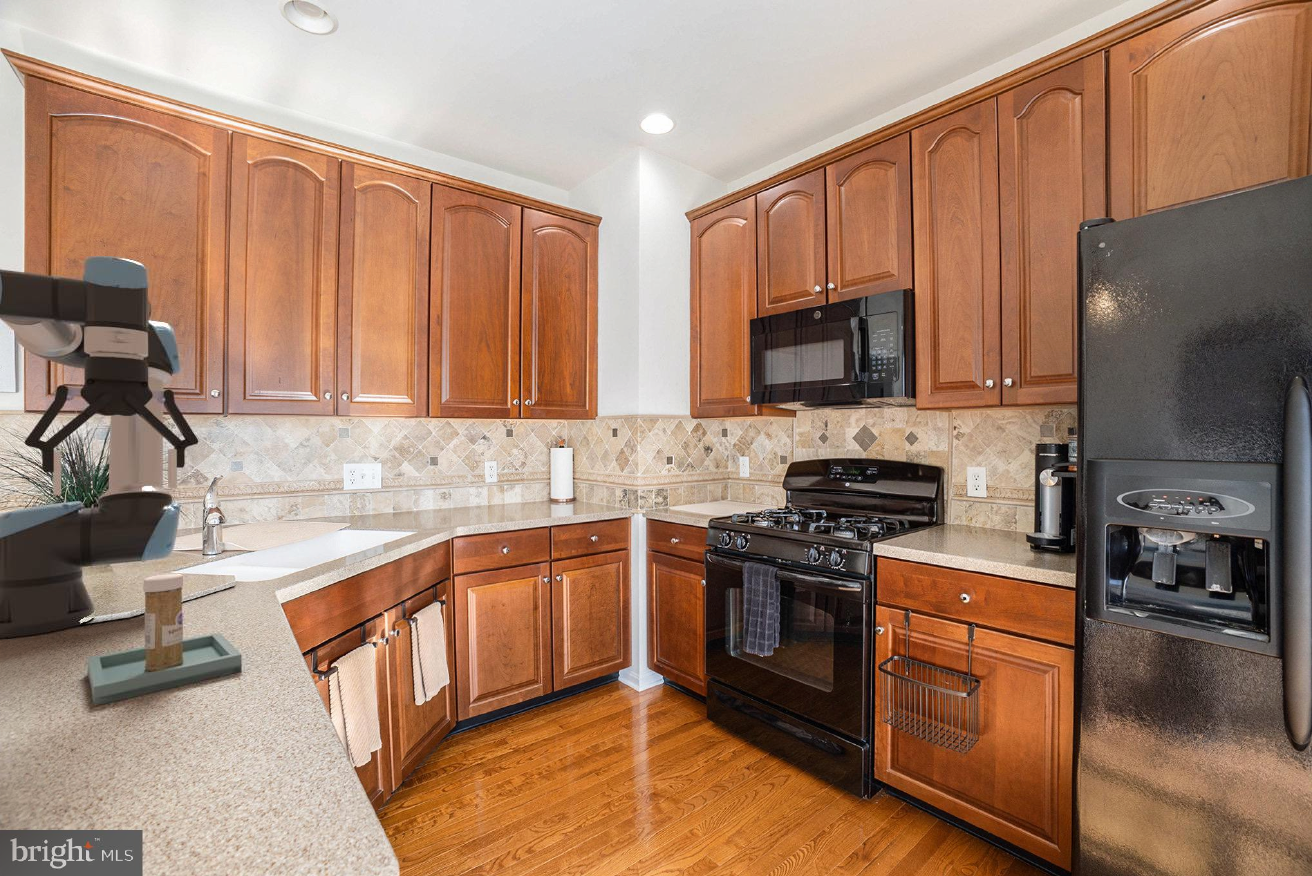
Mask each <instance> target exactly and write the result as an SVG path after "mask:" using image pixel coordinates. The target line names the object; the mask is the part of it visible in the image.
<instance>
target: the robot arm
mask: <svg viewBox="0 0 1312 876" xmlns="http://www.w3.org/2000/svg"><path fill="white" fill-rule="evenodd" d="M83 267H84V268H83V274H82V278H72V277H64V276H57V275H55V276H54V275H47V274H46V275H45V274H40V273H31V272H24V271H15V270H7V269H1V268H0V320H1V321H2V322H4V324H6V325H7V326H8V327H9V329H11V330H12V331H14V336H15V338H16V340H17V342H18V343H19V344H20V346H22V347H23V348H24V349H25V350H27V351H28V352H30V353H31V354H33V355H35V356H37V357H39V358H42V359H44V360H47V361H50V362H53V363H56V364H59V365H63V366H67V367H70V368H77V369H84V371H83V373H84V384H83V386H82V388H79V387H71V386H67V385H65V384H60V385H58V386H57V387H56V388H55V393H54V400H53V401H52V403H50V404H49V407H48V408H47V409H46V411H45V412H44V414H43V415H42V416H41V417H40V419H39V420H38V422H37V423H36V424H35V425H34V428H33V429H31V430H32V431H30V434H29V435H28V436H27V437H26V439H25V441H24V445H25V446H27V447H29V448H34V449H38V450H40V451H41V453H42V454H41V455H42V456H41V457H42V460H41V461H42V462H41V466H42V467H41V468H42V471H43V472H44V473H52V480H53V481H52V482H53V483H52V484H53V485H52V486H53V487H52V488H53V489H52V491H53V492H52V493H53V495H55V496H57V495H62V451H61V450H55V448H56V447H58V446H59V445H60V444H61V443H62V442H63V441H65V440H66V439H67V438H68V437H70V436H71V435H72V434H73V433H74V432H75V431H76V430H78V428H80V427H81V426H82V425H84V424H85V423H86V422H87V421H89V419H91V418H92V417H93V416H94V415H96V414H97V413H98V414H99V415H101V416H105V417H107V416H108V417H109V416H110V430H109V431H110V433H109V434H110V435H109V437H110V438H109V463H108V464H109V467H108V470H109V471H108V472H109V473H108V490H107V491H106V492H104V493H103V494H102V495H100V496H98V499H97V500H98V504H97V505H98V506H96V507H85V506H84V504H83V502H82V501H79V500H77V501H67V502H60V503H51V504H46V505H45V504H44V505H39V506H32V507H27V508H19V509H14V510H10V511H7V512H4V513H2V514H1V515H0V639H6V637H8V638H18V637H26V636H33V635H40V634H45V633H51V631H52V632H55V631H60V630H65V629H71V628H73V627H77V626H80V625H81V624H80V622H79V621H80V620H81V619H83V618H84V617H87V616H89V615H91V614H92V613H94V611H95V609H96V607H95V604H94V603H93V600H92V598H91V596H90V594H89V592H88V589H87V588H86V585H85V584H84V581H83V568H86V567H97V566H108V565H115V564H125V563H134V562H135V563H136V562H141V563H145V562H147V561H154V560H160V559H161V560H162V559H165V558H167V557H169V556H171V554H172V553H173V551H174V548H175V544H176V538H177V533H178V527H179V519H180V515H181V514H180V513H181V503H179V502H176V501H175V502H173V496H172V494H171V493H170V492H168V491H167V490H166V489H164V439H165V440H166V441H167V442H168V443H169V444H170V445H172V446H173V448H168V449H167V463H168V464H167V475H168V476H167V488H169V489H178V479H177V478H178V469H179V468H180V469H181V468H182V469H183V468H184V467H185V465H186V463H185V461H186V459H185V458H186V457H185V454H186V453H185V450H186V448H188V447H191V446H194V445H195V446H196V445H197V444H198V443H199V439H198V438H197V436H196V435H195V433H194V431H193V429H192V427H190V425H189V423H188V421H187V420H186V418H185V417H184V415H183V414H182V412H181V410H180V408H179V407H178V406H177V404H176V401H175V393H174V391H173V390H172V389H165V390H164V387H166V385H168V384H170V383H171V382H172V380H173V375H176V374H178V375H179V373H180V372H181V367H180V359H179V358H180V357H179V350H178V344H177V339H176V335H175V334H176V333H175V331H174V328H173V327H172V326H171V325H170V324H168V323H167V322H162V321H155V320H149V319H150V318H151V316H152V305H151V302H150V300H149V284H150V282H149V279H148V269H147V268H146V267H145V265H144V264H142V263H140V262H139V261H138V262H137V261H134V260H130V259H128V258H127V259H126V258H120V257H116V256H107V255H105V256H104V255H94V256H90V257H87V258H86V259H85V260H84V266H83ZM76 396H80V397H81V398H82V399H83V400H84V401H85V402H86V404H88V406H87V407H86V408H85V409H83V410H82V411H81V412H80V413H79V414H77V415H76V416H75V417H74V418H72V419H71V420H70V421H69V422H68V423H67V424H66V425H64V426H63V427H62V428H61V429H60V430H58V431H57V432H55V434H53V435H52V436H51V437H50V438H49V439H47V440H46V441H45V440H41V438H42V437H43V436H44V434H45V432H46V431H47V430H48V428H49V427H50V426H51V424H52V423H53V421H54V420H55V418H56V417H57V416H58V414H59V413H60V411H61V410H62V409H63V408H64V406H65V405H66V402H70V401H72V400H74V398H75V397H76ZM164 409H165V410H166V411H167V413H168V414H169V416H170V418H171V419H172V421H173V422H174V425H176V427H177V429H178V430H179V431H180V434H181V436H182V437H183V438H184V439H181V438H180V437H179V436H177V435H176V434H175V433H174V432H173V431H172V430H171V429H170V428H169V427H168V426H167V425H165V424H164ZM177 468H178V469H177Z"/></svg>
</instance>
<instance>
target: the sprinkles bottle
mask: <svg viewBox="0 0 1312 876" xmlns="http://www.w3.org/2000/svg"><path fill="white" fill-rule="evenodd" d="M182 587H184V575H183V574H181V573H166V574H165V573H163V574H158V575H152V576H149V577H146V578H145V579H143V590H142V591H143V592H144V601H145V602H144V603H145V605H144V608H145V609H144V647H145V648H146V665H145V669H146V670H148V671H158V670H163V669H167V668H172V667H175V666H178V665H180V664H181V663H183V661H184V659H183V657H182V656H183V652H182V641H183V639H184V631H183V629H184V628H183V624H184V623H183V621H184V620H183V617H184V615H183V613H184V612H183V601H182V600H183V591H182V590H183V588H182Z"/></svg>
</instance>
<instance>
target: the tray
mask: <svg viewBox="0 0 1312 876" xmlns="http://www.w3.org/2000/svg"><path fill="white" fill-rule="evenodd" d="M182 652H183V656H182V657H183V659H184V661H183V663H181V664H180V665H178V666H175V667H172V668H167V669H163V670H158V671H148V670H146V669H145V665H146V648H145V646H142V647H137V648H132V649H127V650H122V651H118V652H110V653H107V654H102V655H97V656H96V655H95V656H92V657H87V678H88V683H89V688H90V694H91V700H92V703H93V704H92V705H93V707H98V706H102V705H106V704H111V703H113V702H119V701H123V700H126V699H130V698H135V697H139V696H142V695H149V694H152V693H156V692H160V691H165V690H169V689H172V688H174V689H175V688H177V687H182V686H185V685H189V684H194V683H199V682H202V681H207V680H210V679H211V680H212V679H216V678H219V677H223V676H227V675H232V674H237V673H240V672H242V670H243V669H242V667H243V666H242V663H243V662H242V659H243V657H242V656H243V655H242V653H241V652H240V651H239V650H238V649H237V648H236V647H235V646H234V645H233V644H232V643H231V642H229V640H228V639H227V638H226V637H225V636H224V634H223V635H222V633H221V632H214V633H209V634H203V635H199V636H194V637H189V638H183V641H182Z"/></svg>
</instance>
